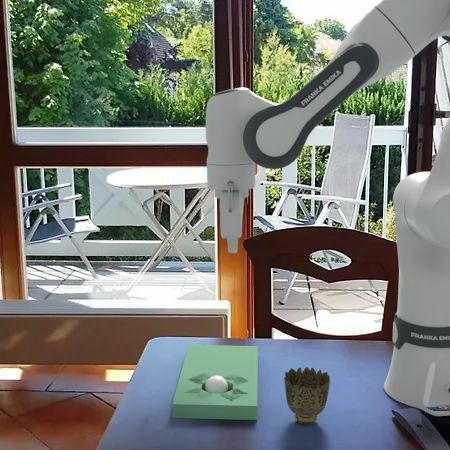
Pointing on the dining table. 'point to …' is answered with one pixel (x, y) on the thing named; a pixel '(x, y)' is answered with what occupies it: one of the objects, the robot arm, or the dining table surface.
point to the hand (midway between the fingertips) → (233, 251)
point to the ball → (216, 385)
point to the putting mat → (225, 367)
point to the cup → (306, 393)
